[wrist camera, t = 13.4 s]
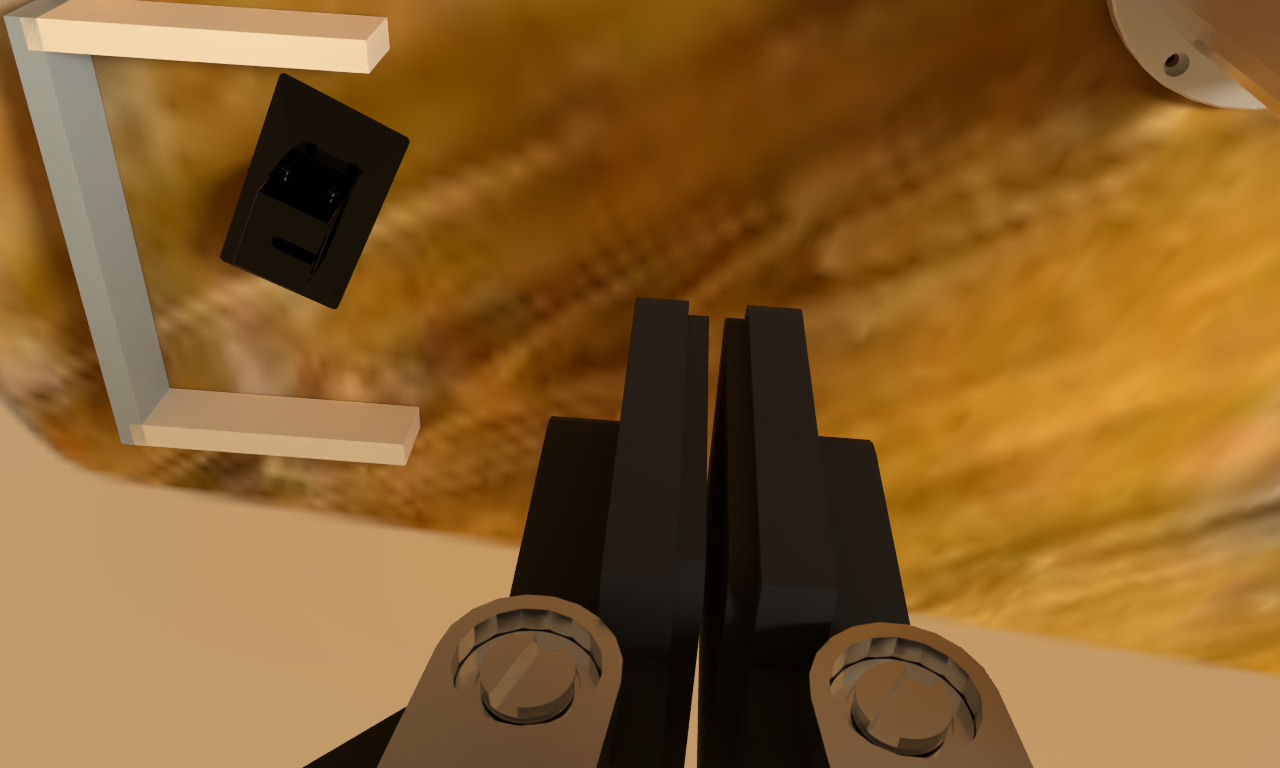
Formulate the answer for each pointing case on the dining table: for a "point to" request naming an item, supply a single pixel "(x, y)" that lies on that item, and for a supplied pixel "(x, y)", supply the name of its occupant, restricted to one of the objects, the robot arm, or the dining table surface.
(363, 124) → the black boxy piece
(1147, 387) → the dining table surface
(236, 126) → the dining table surface
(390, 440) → the u-shaped wooden bracket
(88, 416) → the dining table surface
